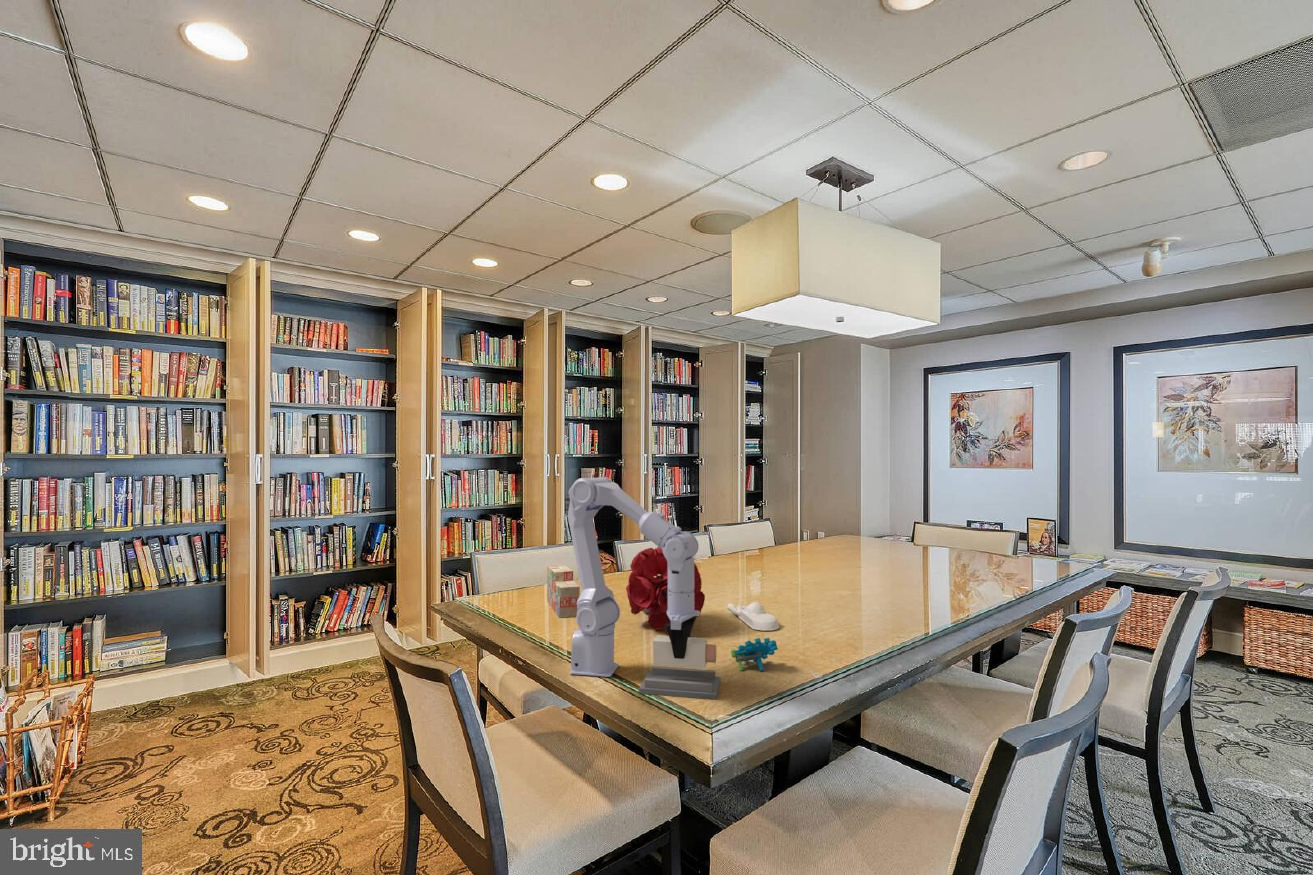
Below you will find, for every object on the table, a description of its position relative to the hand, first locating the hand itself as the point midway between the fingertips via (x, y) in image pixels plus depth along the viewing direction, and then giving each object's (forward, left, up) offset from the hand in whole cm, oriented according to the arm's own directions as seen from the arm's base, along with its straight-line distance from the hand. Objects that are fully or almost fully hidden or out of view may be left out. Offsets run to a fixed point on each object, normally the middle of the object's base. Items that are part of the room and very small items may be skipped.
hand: (680, 654), depth 126 cm
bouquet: (-12, +45, -7) cm, 47 cm away
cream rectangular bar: (0, 0, -2) cm, 2 cm away
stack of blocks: (-47, +56, -7) cm, 73 cm away
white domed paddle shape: (+14, +53, -7) cm, 56 cm away
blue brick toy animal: (+15, +16, -7) cm, 23 cm away
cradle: (0, 0, -7) cm, 7 cm away
